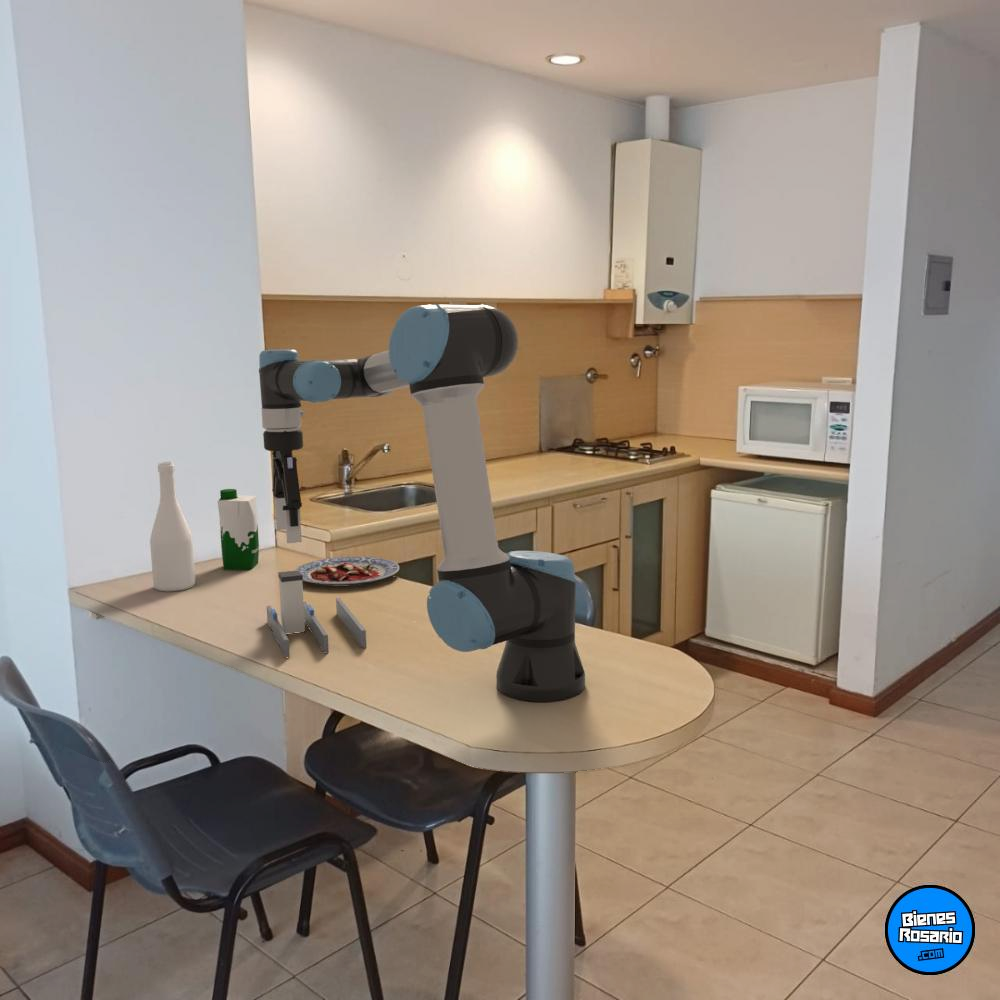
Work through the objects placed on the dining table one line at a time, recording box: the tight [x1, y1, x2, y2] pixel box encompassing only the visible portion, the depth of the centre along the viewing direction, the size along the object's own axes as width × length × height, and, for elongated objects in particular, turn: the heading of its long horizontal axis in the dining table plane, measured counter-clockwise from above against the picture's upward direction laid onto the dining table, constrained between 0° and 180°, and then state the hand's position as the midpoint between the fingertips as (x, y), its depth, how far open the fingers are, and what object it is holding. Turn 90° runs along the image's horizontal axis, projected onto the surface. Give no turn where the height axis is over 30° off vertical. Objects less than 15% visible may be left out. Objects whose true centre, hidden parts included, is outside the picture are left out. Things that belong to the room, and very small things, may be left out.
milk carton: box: [217, 488, 260, 571], centre depth 247 cm, size 9×9×20 cm
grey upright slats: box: [266, 597, 367, 658], centre depth 193 cm, size 24×15×4 cm, turn 21°
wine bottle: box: [149, 461, 196, 592], centre depth 227 cm, size 10×10×30 cm
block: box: [277, 570, 306, 634], centre depth 195 cm, size 4×4×12 cm
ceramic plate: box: [293, 556, 400, 586], centre depth 238 cm, size 26×26×3 cm
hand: (288, 535), depth 192 cm, fingers open, 13 cm apart
